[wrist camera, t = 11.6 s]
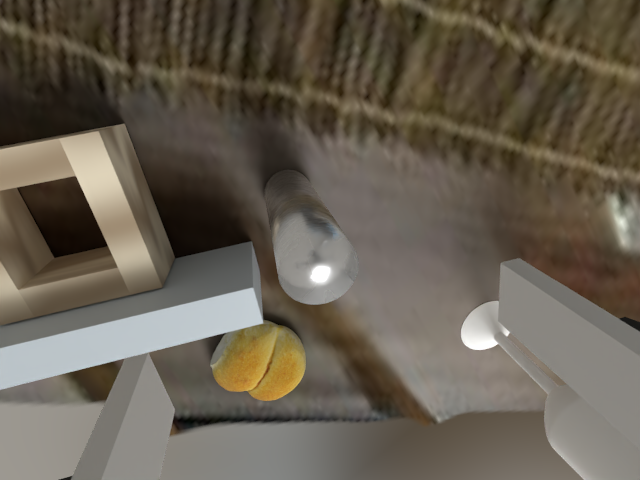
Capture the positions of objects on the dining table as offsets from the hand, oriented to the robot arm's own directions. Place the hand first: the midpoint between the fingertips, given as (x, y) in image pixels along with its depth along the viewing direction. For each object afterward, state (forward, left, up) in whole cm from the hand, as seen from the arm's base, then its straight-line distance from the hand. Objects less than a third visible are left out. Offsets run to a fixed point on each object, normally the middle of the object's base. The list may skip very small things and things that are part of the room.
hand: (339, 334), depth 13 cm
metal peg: (0, 0, -19) cm, 19 cm away
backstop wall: (+5, -16, -19) cm, 25 cm away
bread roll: (+15, -6, -19) cm, 25 cm away
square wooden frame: (-2, -16, -19) cm, 25 cm away
